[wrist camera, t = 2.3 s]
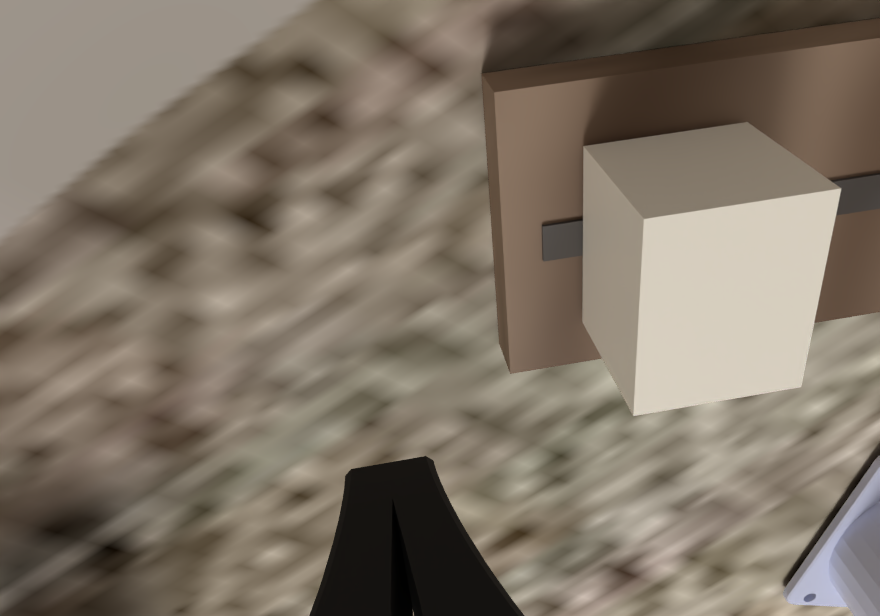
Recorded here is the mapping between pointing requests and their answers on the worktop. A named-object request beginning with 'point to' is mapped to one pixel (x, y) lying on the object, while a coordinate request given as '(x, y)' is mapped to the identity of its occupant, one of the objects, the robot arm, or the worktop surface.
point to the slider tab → (702, 264)
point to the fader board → (662, 112)
